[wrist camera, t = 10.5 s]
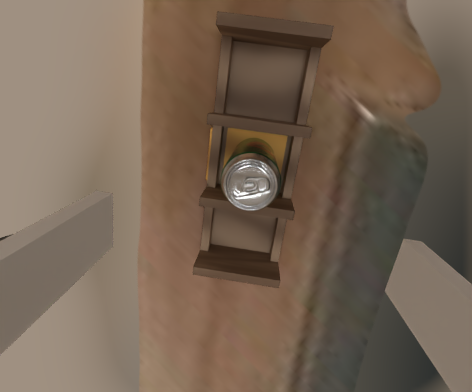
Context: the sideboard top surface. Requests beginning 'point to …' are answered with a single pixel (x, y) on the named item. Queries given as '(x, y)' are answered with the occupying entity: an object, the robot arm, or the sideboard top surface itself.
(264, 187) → the soda can
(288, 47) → the slot rack
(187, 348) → the sideboard top surface
